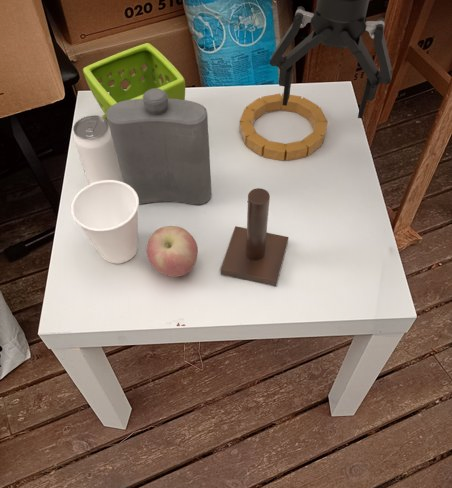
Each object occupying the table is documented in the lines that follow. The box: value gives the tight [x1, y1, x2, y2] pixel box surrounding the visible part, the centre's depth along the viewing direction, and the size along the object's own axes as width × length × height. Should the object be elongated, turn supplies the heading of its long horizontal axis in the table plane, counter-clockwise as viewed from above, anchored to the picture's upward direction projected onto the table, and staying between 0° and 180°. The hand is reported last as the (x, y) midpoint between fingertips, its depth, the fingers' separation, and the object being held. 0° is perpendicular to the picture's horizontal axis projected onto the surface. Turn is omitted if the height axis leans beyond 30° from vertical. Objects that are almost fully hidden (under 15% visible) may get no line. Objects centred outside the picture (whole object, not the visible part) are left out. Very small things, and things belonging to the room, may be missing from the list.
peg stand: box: [220, 187, 290, 287], centre depth 75 cm, size 9×9×14 cm
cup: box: [70, 180, 140, 264], centre depth 78 cm, size 10×10×11 cm
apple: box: [146, 225, 199, 277], centre depth 77 cm, size 8×8×8 cm
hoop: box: [239, 92, 328, 162], centre depth 96 cm, size 16×16×2 cm
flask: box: [106, 88, 213, 206], centre depth 80 cm, size 15×6×20 cm, turn 88°
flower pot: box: [82, 42, 186, 125], centre depth 92 cm, size 14×14×13 cm
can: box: [72, 114, 124, 185], centre depth 86 cm, size 6×6×12 cm
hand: (322, 107), depth 91 cm, fingers open, 13 cm apart
